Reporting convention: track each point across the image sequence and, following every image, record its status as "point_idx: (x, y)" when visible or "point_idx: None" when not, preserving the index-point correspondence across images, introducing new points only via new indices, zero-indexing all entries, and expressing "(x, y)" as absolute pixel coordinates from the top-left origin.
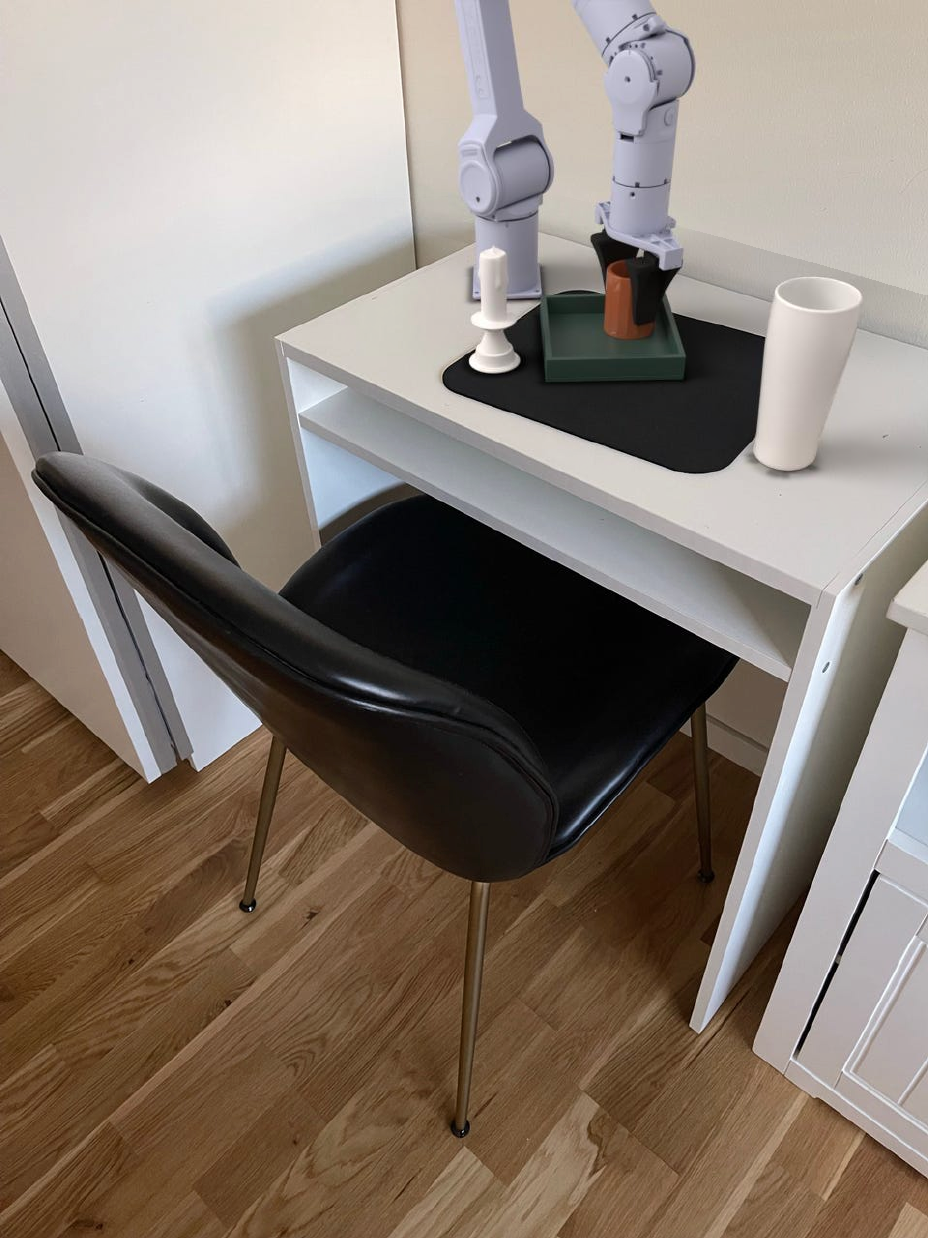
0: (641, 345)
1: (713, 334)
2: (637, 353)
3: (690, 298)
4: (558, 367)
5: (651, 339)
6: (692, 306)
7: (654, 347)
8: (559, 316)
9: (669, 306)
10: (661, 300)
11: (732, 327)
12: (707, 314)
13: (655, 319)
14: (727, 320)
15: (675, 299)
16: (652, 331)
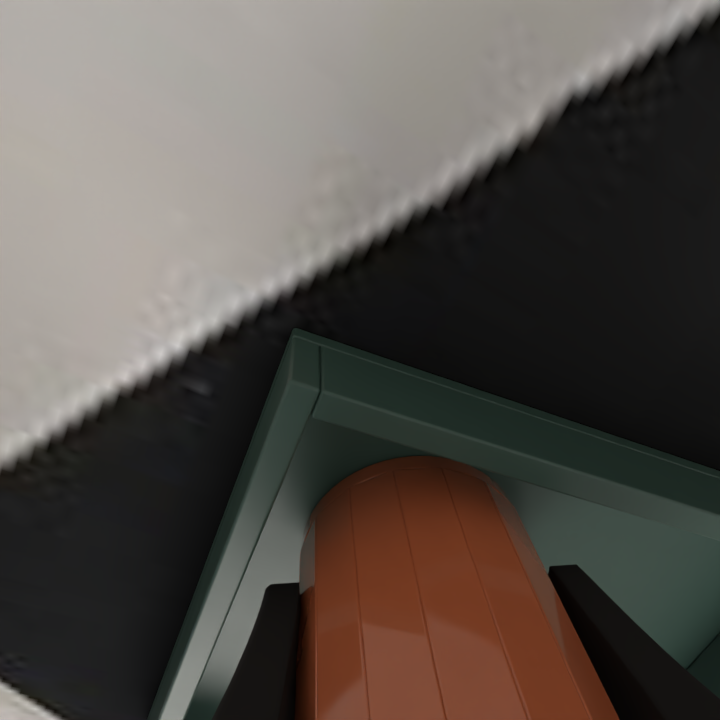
0: (566, 556)
1: (622, 208)
2: (607, 586)
3: (153, 71)
4: None
5: (543, 507)
6: (269, 126)
7: (608, 523)
8: (201, 704)
9: (483, 446)
10: (666, 652)
11: (621, 54)
12: (405, 100)
13: (494, 501)
14: (533, 26)
15: (140, 173)
16: (501, 489)
